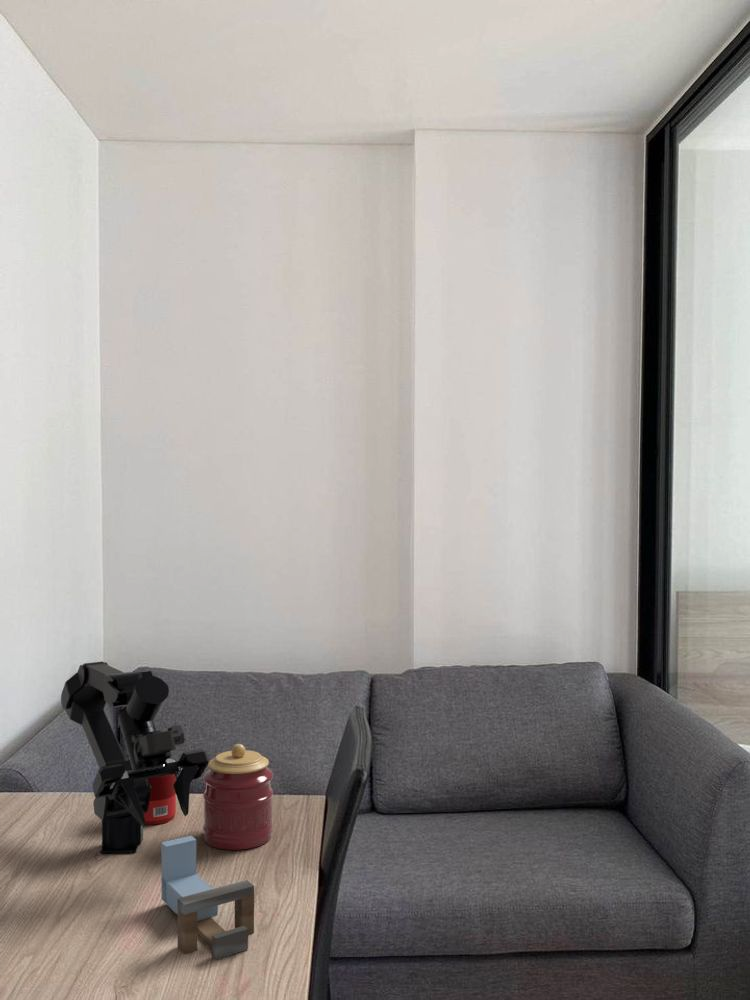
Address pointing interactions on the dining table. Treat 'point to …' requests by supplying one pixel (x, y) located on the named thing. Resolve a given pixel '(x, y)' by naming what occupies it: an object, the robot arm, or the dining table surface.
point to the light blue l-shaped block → (182, 875)
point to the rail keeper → (208, 928)
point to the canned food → (161, 799)
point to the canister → (238, 800)
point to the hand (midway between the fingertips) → (165, 819)
